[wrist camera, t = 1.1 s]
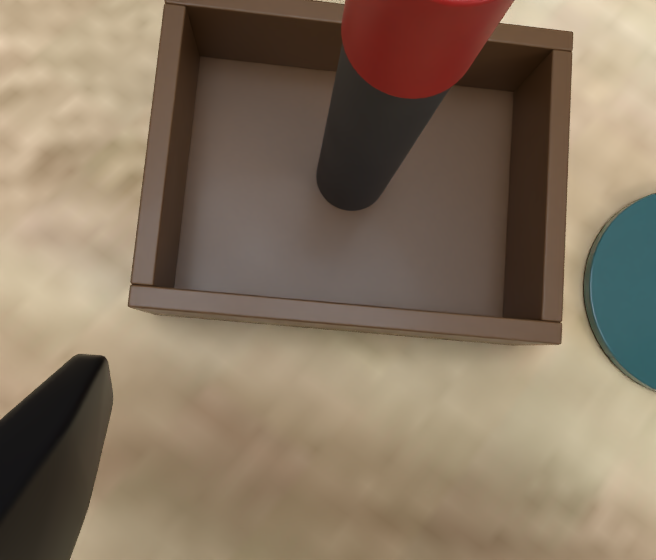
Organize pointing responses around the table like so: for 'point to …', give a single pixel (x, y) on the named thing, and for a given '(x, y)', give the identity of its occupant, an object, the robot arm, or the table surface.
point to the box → (342, 225)
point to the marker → (393, 86)
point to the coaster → (626, 290)
